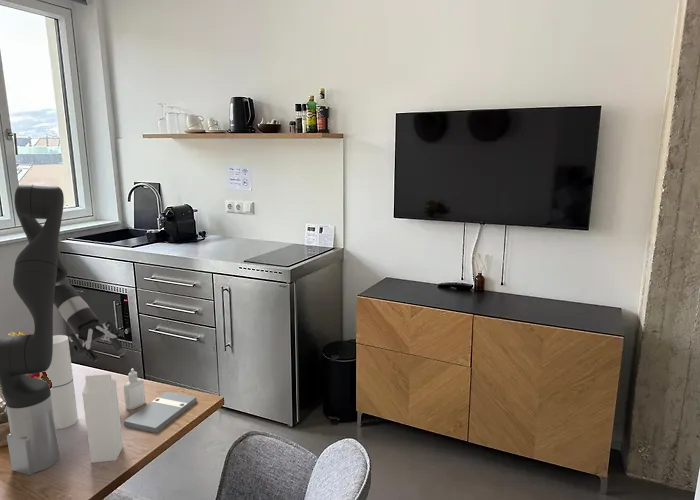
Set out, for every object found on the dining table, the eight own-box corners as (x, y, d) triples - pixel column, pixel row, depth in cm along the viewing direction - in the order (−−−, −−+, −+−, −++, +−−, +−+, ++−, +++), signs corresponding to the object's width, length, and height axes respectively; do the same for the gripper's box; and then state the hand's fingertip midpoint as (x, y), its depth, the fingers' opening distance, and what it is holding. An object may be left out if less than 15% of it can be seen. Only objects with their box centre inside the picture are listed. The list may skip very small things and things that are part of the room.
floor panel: (156, 432, 135) (155, 427, 135) (124, 425, 139) (123, 420, 138) (196, 401, 152) (196, 396, 151) (167, 395, 155) (166, 390, 155)
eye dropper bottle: (146, 406, 149) (143, 369, 146) (126, 411, 146) (122, 373, 144) (145, 400, 153) (141, 364, 150) (125, 404, 150) (121, 368, 148)
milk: (99, 449, 128) (89, 370, 124) (123, 446, 129) (114, 368, 125) (90, 463, 122) (80, 381, 118) (116, 461, 123) (107, 379, 119)
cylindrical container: (55, 431, 136) (44, 346, 131) (44, 423, 140) (33, 340, 135) (82, 420, 141) (72, 338, 136) (71, 412, 146) (61, 333, 141)
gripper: (61, 314, 145) (93, 357, 142) (102, 300, 157) (132, 340, 155) (51, 329, 148) (82, 371, 146) (93, 314, 160) (122, 353, 158)
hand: (108, 355), depth 150 cm, fingers open, 8 cm apart
